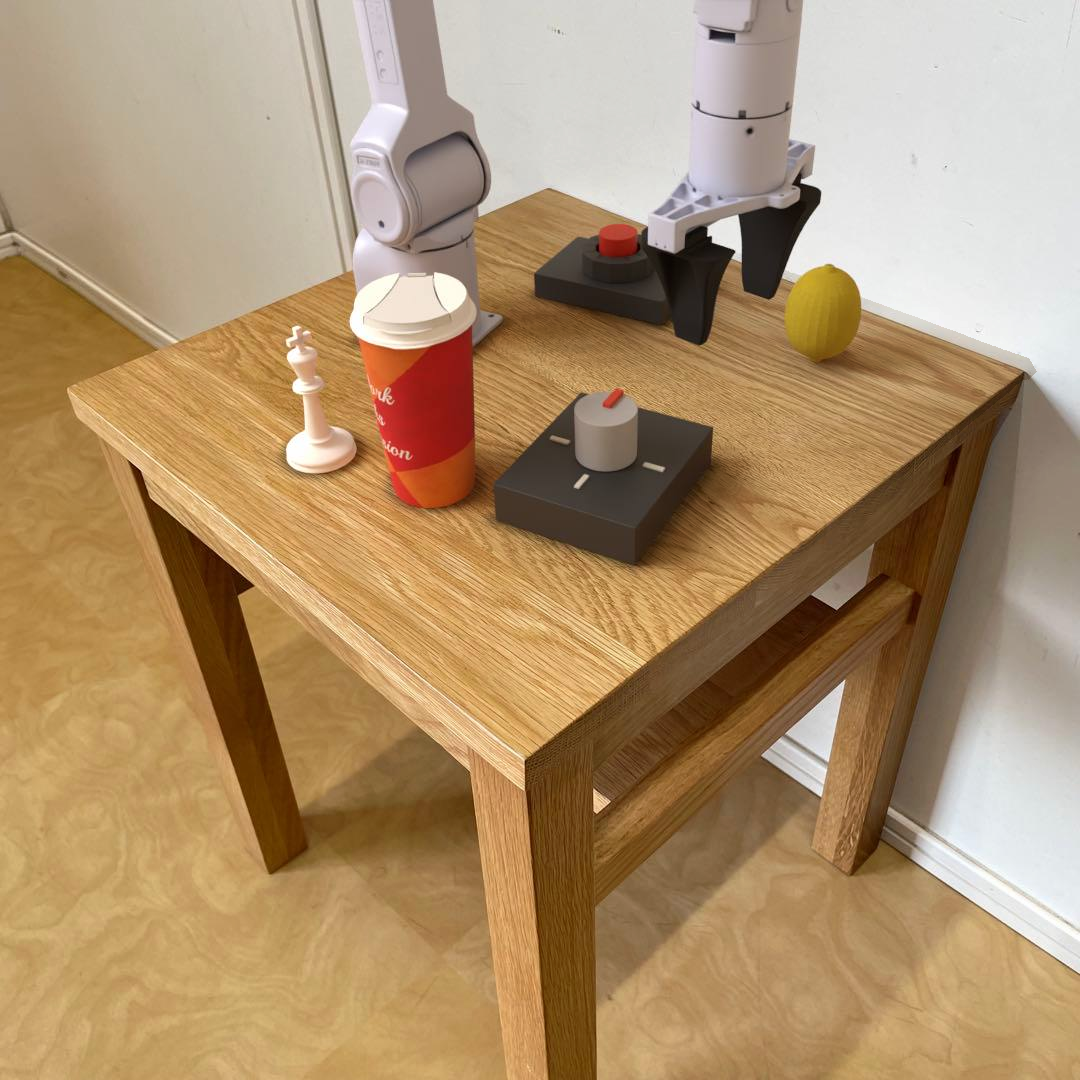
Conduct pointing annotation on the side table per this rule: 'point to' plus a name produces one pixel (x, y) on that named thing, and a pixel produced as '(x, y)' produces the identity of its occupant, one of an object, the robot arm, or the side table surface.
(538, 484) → the panel
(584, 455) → the timer dial
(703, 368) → the side table surface
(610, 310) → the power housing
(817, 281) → the lemon
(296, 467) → the chess piece
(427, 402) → the paper cup
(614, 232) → the power button
